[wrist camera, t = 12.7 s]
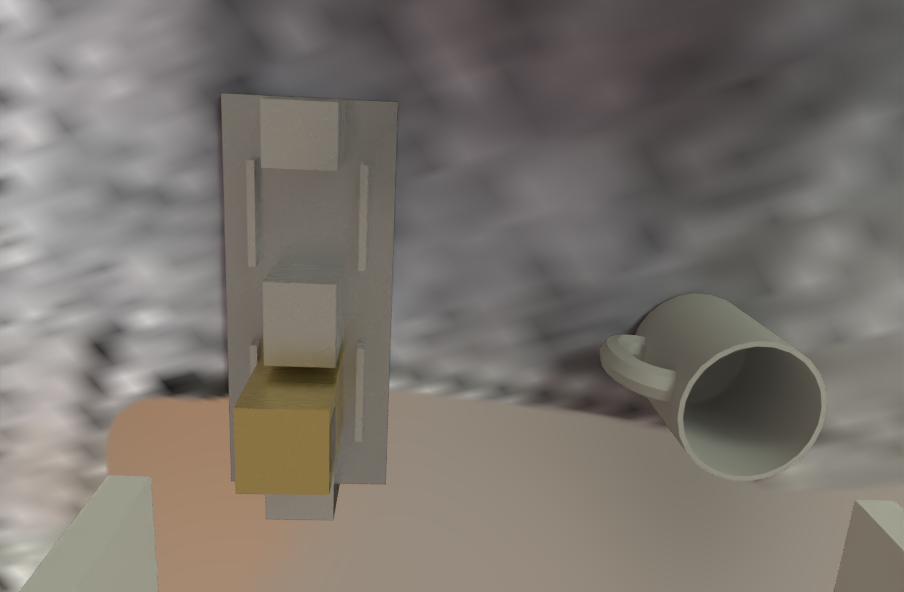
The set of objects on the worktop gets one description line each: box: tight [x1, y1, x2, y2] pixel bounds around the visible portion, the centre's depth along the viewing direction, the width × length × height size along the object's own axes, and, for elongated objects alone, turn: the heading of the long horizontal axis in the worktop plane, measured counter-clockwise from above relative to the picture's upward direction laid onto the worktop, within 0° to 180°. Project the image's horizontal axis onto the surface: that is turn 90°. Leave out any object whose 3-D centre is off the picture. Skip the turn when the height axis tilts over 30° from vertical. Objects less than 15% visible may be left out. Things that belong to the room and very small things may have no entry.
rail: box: [221, 93, 398, 520], centre depth 42 cm, size 22×9×5 cm, turn 177°
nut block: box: [233, 352, 344, 495], centre depth 41 cm, size 4×4×8 cm
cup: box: [599, 293, 827, 481], centre depth 41 cm, size 7×10×9 cm
